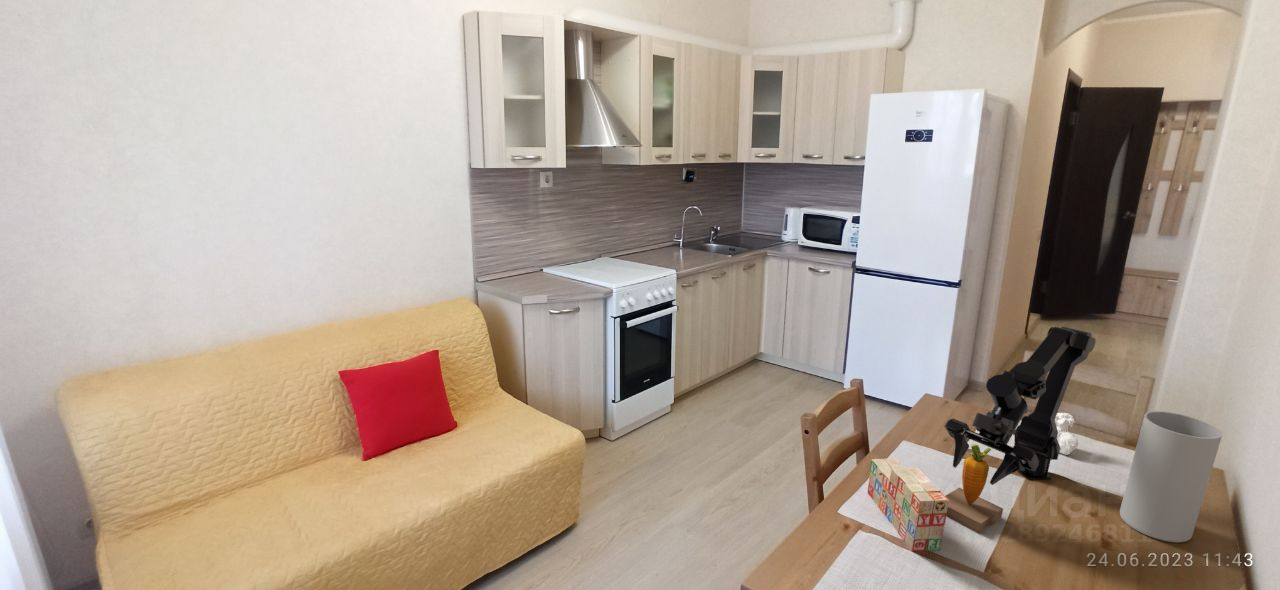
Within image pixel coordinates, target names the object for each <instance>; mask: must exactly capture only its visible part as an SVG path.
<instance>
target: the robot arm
mask: <svg viewBox="0 0 1280 590" xmlns="http://www.w3.org/2000/svg"><path fill="white" fill-rule="evenodd" d="M1095 346H1096V338H1095V337H1093V335H1092V333H1091V332H1088V331H1084V330H1080V329H1075V328H1071V327H1067V326H1061V327H1060V326H1051V327H1050V328H1049V330H1048V332H1047V335H1046V337H1045V338H1044V339H1043V340H1042V342H1041V343H1040V344H1039V345H1038V346H1037V348H1036V349H1035V350H1034V352H1033V353H1032V354H1031V355H1030V357H1029V358H1028V359H1026V361H1022V362H1019V363H1016V364H1014V366H1013V367H1012V368H1010V370H1008V371H1007V370H1004V371H1003V373H1002V374H995V375H994V376H992V377H990V378H989V379H988V380H987V381H986V390H987V392H988V394H989V397H990V398H991V401H992V402H993V404H994V406H993V409H992V410H991V411H988V412H987V413H986V414H982V413H980V412H976V414H975V417H974V420H973V423H972V424H971V426H973V427H976V428H975V430H976V431H977V432H976V431H973V430H971V428H970V427H969V425H968V423H966V422H963V421H961V420H958V419H956V418H951V419H948V420H947V421H946V423H945V424H944V428H945V430H946V431H947V433H948V435H949V437H951V438H953V440H954V444H955V445H954V453H953V462H952V467H953V468H955V469H957V467H958V466H959V465H960V463H961V461H962V459H963V458H964V456H965V455H966V453H967V451H968V450H969V448H970V445H969V443H968V442H969V441H970V440H972V441H974V442H976V443H978V444H981V445H983V446H986V447H987V448H990V449H993V450H995V451H997V452H1000V453H1003V454H1004V456H1003V459H1002V462H1001V463H1000V464H999V466H998V467H997V469H996V470H995V472H994V474H993V476H991V479H990V482H989V484H990V485H992V486H993V485H995V484H997V483H998V482H999V481H1001V480H1003V479H1004V478H1006V477H1007V476H1009V475H1011V474H1013V473H1015V472H1019V474H1021V475H1022V476H1023V477H1024V478H1026V479H1027V480H1052V478H1053V476H1051V475H1050V474H1049V470H1050V469H1049V468H1050V464H1051V461H1052V460H1053V461H1054V460H1056V461H1057V460H1058V459H1059V454H1061V453H1060V445H1059V443H1058V440H1057V435H1058V430H1057V427H1056V423H1055V417H1056V415H1057V413H1059V409H1060V408H1061V407H1060V406H1061V405H1062V401H1063V398H1064V397H1065V393H1066V391H1067V388H1068V386H1069V383H1070V381H1071V377H1072V376H1073V373H1074V371H1075V369H1076V366H1078V365H1079V364H1080V363H1082V362H1084V361H1086V360H1087V359H1088V356H1089V355H1090V353H1091V352H1092V351H1093V350H1094V348H1095ZM1046 376H1047V377H1046ZM1023 397H1025V398H1028V399H1031V400H1037V402H1036V405H1035V408H1034V410H1033V412H1032V413H1030V414H1028V415H1025V414H1027V413H1028V407H1029V406H1028V403H1027V401H1026V400H1025V398H1023ZM1024 415H1025V416H1024ZM1013 435H1014V444H1013V446H1011V445H1008V444H1009V442H1010V440H1011V438H1012V436H1013Z"/></svg>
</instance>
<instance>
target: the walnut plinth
mask: <svg viewBox="0 0 1280 590" xmlns="http://www.w3.org/2000/svg"><path fill="white" fill-rule="evenodd" d="M945 496H946V498H947V499H948V500H949V504H948V509H947V515H946V518H948V519H950V520H952V521H954V522H956V523H958V524H960V525H961V526H964V527H966V528H967V529H969V530H971V531H973V532H975V533H977V534H978V535H979V534H981V533H982V532H984V531H985V530H987V529H988V528H989V527H991V526H992V525H994V524H995V523H996V522H998V521H999V520H1002V517H1003V512H1004V507H1001V506H999V505H997V504H994V503H993V502H991V501H988V500H987V499H984V498H982V497H980V496H979V497H978V499H977V500H976V501H975V502H974V503H972V504H968V503H967V500H966V498H965V495H964V491H963V488H961V487H958V488H956V489H954V490H953V491H950V492H949V493H947V494H946V495H945Z"/></svg>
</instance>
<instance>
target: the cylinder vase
mask: <svg viewBox="0 0 1280 590" xmlns="http://www.w3.org/2000/svg"><path fill="white" fill-rule="evenodd" d="M1222 436H1223V432H1222V431H1221V430H1220V429H1219V428H1217V427H1216V426H1214V425H1213V424H1210V423H1208V422H1205V421H1203V420H1201V419H1198V418H1195V417H1191V416H1188V415H1185V414H1180V413H1175V412H1169V411H1159V410H1157V411H1156V410H1155V411H1148V412H1145V413H1144V415H1143V418H1142V422H1141V428H1140V431H1139V435H1138V439H1137V442H1136V443H1137V444H1136V447H1135V451H1134V454H1133V459H1132V462H1131V466H1130V471H1129V473H1128V477H1127V482H1126V485H1125V488H1124V494H1123V498H1122V501H1121V503H1120V504H1121V506H1120V508H1119V515H1120V517H1121V519H1122V521H1123V522H1124V523H1126V524H1127V526H1129V527H1130V528H1133V530H1135V531H1137V532H1139V533H1140V534H1143V535H1145V536H1148V537H1149V538H1153V539H1155V540H1156V539H1157V540H1160V541H1164V542H1169V543H1185V542H1187V541H1189V540H1191V538H1192V537H1193V535H1194V531H1195V527H1196V524H1197V521H1198V518H1199V515H1200V511H1201V507H1202V504H1203V501H1204V498H1205V494H1206V491H1207V488H1208V484H1209V481H1210V477H1211V474H1212V471H1213V467H1214V464H1215V460H1216V457H1217V454H1218V450H1219V447H1220V444H1221V441H1222V438H1223V437H1222Z"/></svg>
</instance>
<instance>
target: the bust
mask: <svg viewBox="0 0 1280 590" xmlns="http://www.w3.org/2000/svg"><path fill="white" fill-rule="evenodd" d="M1055 423H1056V427H1057V430H1058V435H1057V440H1058V443H1059V445H1060V453H1059V454H1061V455H1062V454H1063V455H1065V456H1068V455H1071V453H1072V452H1073V451H1074V450H1075V449H1076V448H1078V447H1079V441H1078V438H1077V437H1076V435H1075V434H1074V433H1072V432H1070V431H1069V427H1071V428H1072V427H1073V425H1074V424H1075V423H1076V421H1075V419H1074V416H1073V415H1072V414H1070V413H1067V412H1057V415H1056V417H1055Z"/></svg>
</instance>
